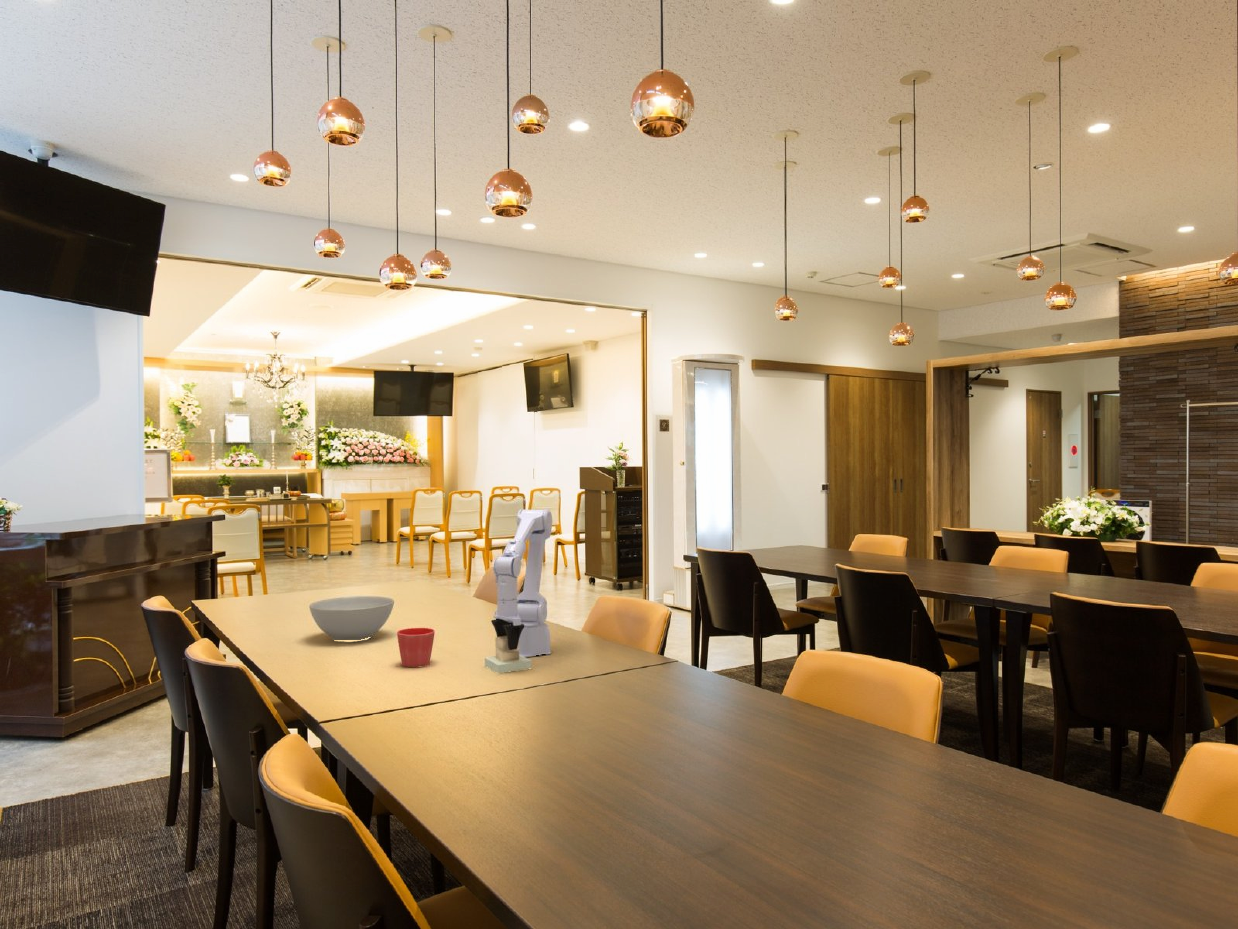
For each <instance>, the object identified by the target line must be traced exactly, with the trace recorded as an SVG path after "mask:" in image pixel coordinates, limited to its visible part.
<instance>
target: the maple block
mask: <svg viewBox="0 0 1238 929" xmlns="http://www.w3.org/2000/svg"><path fill="white" fill-rule="evenodd" d="M495 656H496V659H498V660H500V661H502V662H505V661H512V660H518V659H519V642H518V647H517V649H515V650H509V647H508V639H507V636H502V637H497V636H495Z"/></svg>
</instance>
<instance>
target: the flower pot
mask: <svg viewBox="0 0 1238 929" xmlns="http://www.w3.org/2000/svg"><path fill="white" fill-rule="evenodd" d="M396 635H397V643H398V649H399V650H398V651H399V654H400V660H401V666H403V667H405V666H407V667H406V668H420V667H419V666H423V667H426V666H425V665H427V664H429V665H430V662H431V657H432V652H433V646H434V640H435V629H434V628H430V627H429V628H428V627H409V628H404V629H400V630H398V631H396ZM427 666H428V665H427Z"/></svg>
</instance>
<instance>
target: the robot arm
mask: <svg viewBox="0 0 1238 929" xmlns="http://www.w3.org/2000/svg"><path fill="white" fill-rule="evenodd" d="M516 523H517V529H516V530H515V534H514V538H510V539H509V541H508V542H507V543H506V545H505V548H504V550H503V552H502V554H501V556H498V557H497V558H495V559H494V562H493V568H492V570H493V575H494V581H495V583H496V597H497V598H496V601H497V602H496V606H497V607H496V610H494V614H493V619H492V620H491V621H490V622H491V624H492V626H493V628H494V630H495V633H496V634H495V635H496V637H502V636H507V639H508V647H509V650H515V649H517V647H518V642H519V655H521V656H524V657H526V658H529V657H537V656H536V655H539V656H541V655H540V654H546V655H551V654H552V651H551V632H550V627H549V625H548V624H547V623H545V622H546V621H547V617H548V601H547V599H546V598H545V597H544V596H543V594H541V593H540V587H541V579H542V571H543V562H544V555H545V546H546V540H548V539H550V538H551V534H552V528H553V516H552V512H551V511H550V509H548V508H545V509H525V508H521V509H519V511H518V512H517V515H516ZM527 541H528V549H527V545H526V543H527ZM526 551H527V559H526V563H525V564H526V565H525V566H526V567H525V574H524V582H523V590H522V591H521V592H520V593H519V594H518V577H519V575H520V574H521V569H522V565H523V564H522V559H523V558H524V555H525V554H526Z"/></svg>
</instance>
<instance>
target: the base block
mask: <svg viewBox="0 0 1238 929" xmlns="http://www.w3.org/2000/svg"><path fill="white" fill-rule="evenodd" d="M485 666H486V667H488V668H490V669H491V670H490V669H489V670H490V671H492V670H493V671H495V672H497V673H503V672H509V671H516V672H520V671H519V670H523V671H525V670H524V669H529V668H532V659H529V657H524V656H521V655H519V659H518V660H512V661H505V662H502V661H500V660H498V659H496V655H495V656H487V657H484V667H485ZM486 667H485V668H486ZM488 668H487V669H488ZM493 671H492V672H493ZM495 672H494V673H495ZM497 673H496V674H497ZM503 674H504V673H503Z"/></svg>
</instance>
